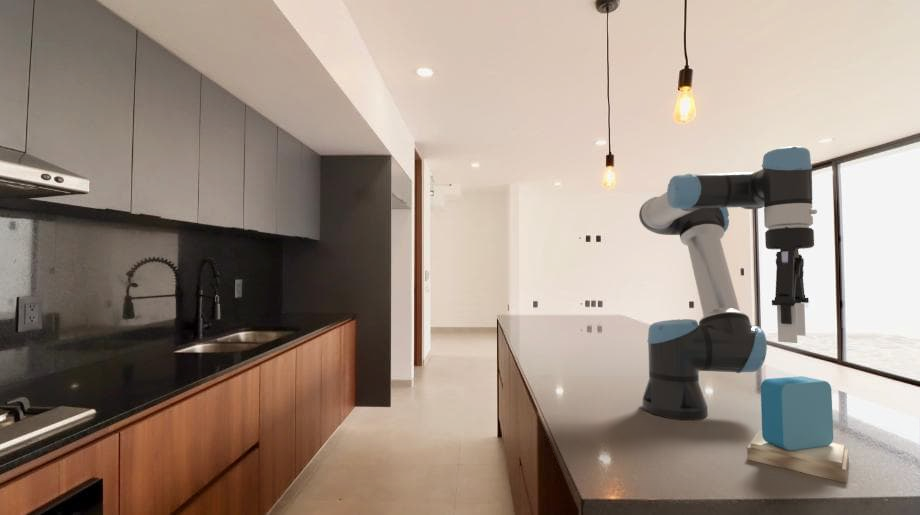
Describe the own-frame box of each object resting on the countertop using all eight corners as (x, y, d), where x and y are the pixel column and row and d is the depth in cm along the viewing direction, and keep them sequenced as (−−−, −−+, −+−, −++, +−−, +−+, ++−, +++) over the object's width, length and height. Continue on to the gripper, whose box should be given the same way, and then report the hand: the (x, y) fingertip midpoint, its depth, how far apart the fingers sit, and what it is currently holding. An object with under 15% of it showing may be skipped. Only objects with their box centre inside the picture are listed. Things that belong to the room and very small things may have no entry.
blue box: (809, 437, 85) (806, 375, 86) (834, 445, 81) (831, 380, 82) (761, 443, 82) (759, 379, 83) (785, 452, 78) (782, 384, 78)
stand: (747, 459, 82) (747, 443, 82) (758, 442, 91) (758, 427, 91) (846, 483, 72) (845, 464, 73) (848, 461, 81) (848, 445, 81)
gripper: (806, 220, 73) (811, 348, 72) (819, 231, 91) (823, 334, 90) (753, 224, 78) (756, 343, 77) (775, 234, 96) (778, 331, 95)
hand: (792, 338), depth 83 cm, fingers open, 13 cm apart
